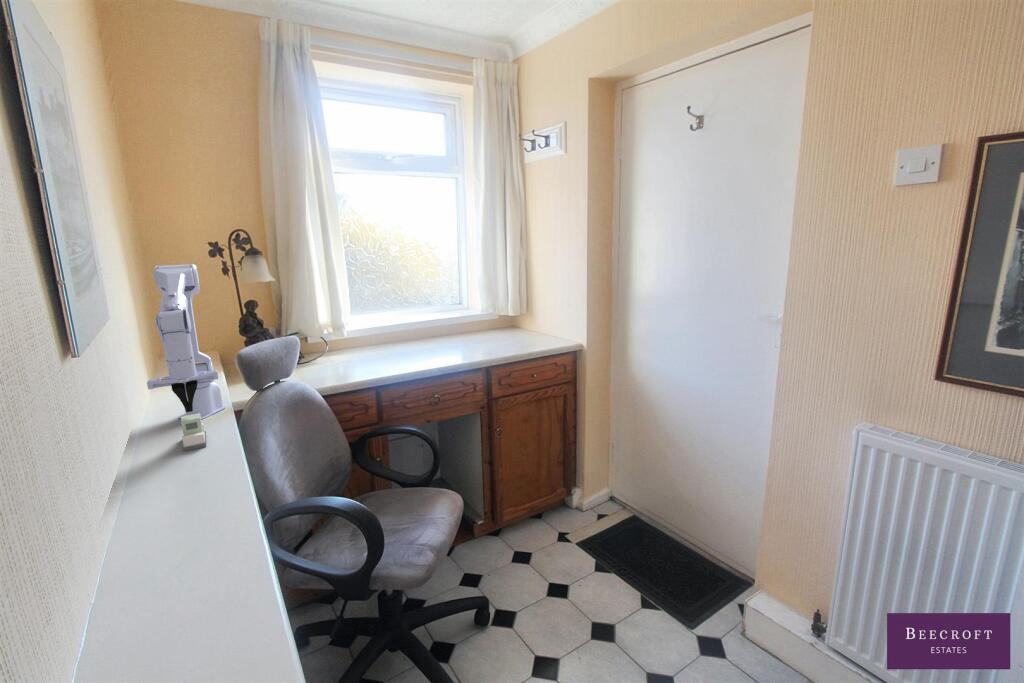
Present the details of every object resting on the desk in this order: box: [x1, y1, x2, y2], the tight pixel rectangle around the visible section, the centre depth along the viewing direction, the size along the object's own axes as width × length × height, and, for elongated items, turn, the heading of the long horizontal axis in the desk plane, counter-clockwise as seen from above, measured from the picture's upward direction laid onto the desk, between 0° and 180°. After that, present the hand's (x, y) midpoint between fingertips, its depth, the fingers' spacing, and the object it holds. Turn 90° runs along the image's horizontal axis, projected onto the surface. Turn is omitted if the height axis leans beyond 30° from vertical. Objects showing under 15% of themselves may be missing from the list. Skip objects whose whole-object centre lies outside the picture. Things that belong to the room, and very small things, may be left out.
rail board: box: [181, 422, 207, 452], centre depth 123 cm, size 9×5×3 cm, turn 32°
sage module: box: [180, 413, 203, 436], centre depth 122 cm, size 4×4×6 cm
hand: (189, 410), depth 121 cm, fingers closed
